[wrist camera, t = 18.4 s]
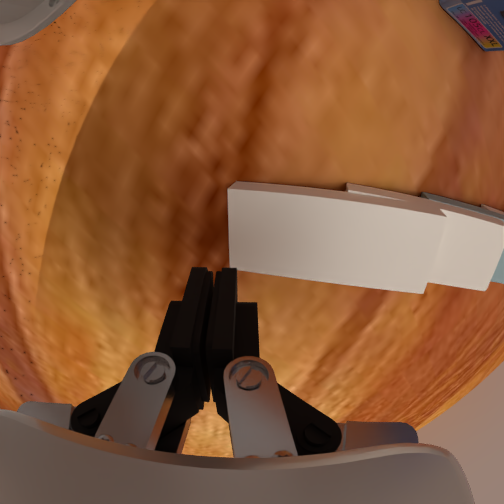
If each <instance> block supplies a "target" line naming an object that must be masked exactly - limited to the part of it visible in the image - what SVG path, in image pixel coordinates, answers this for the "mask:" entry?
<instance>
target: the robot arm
mask: <svg viewBox="0 0 504 504" xmlns="http://www.w3.org/2000/svg"><path fill="white" fill-rule="evenodd" d="M75 1H76V0H0V45H12V44H15V43H18V42H22V41H24V40H25V39H27V38H29V37H31V36H33V35H35V34H36V33H38V32H39V31H41V30H42V29H44V28H45V27H47V26H48V25H49V24H51V23H52V22H53V21H54V20H55V19H57V18H58V17H59V16H60V15H61V14H63V13H64V12H65V11H66V10H67V9H68V8H69V7H70V6H71V5H72V4H73V3H74V2H75ZM211 390H212V396H213V401H214V402H216V407H217V413H218V414H219V415H220V416H221V417H222V418H223V419H224V420H225V421H227V422H228V423H229V430H230V437H231V444H232V450H233V456H234V458H226V457H207V456H195V455H185V454H181V453H182V450H183V447H184V443H185V440H186V437H187V434H188V430H189V427H190V424H191V417H193V416H194V415H195V414H197V413H198V412H199V409H201V410H203V407H204V402H209V400H210V391H211ZM0 504H475V502H474V499H473V495H472V492H471V489H470V486H469V483H468V481H467V478H466V476H465V473H464V471H463V469H462V467H461V465H460V464H459V462H458V461H457V459H456V458H455V457H454V455H453V454H452V453H450V452H449V451H448V450H446V449H444V448H441V447H438V446H434V445H428V444H422V443H418V436H417V433H416V431H415V429H414V428H413V427H412V426H410V425H409V424H407V423H402V422H357V421H347V422H346V423H336V422H335V421H334V420H332V419H331V418H329V417H328V416H326V415H325V414H323V413H322V412H320V411H318V410H317V409H315V408H314V407H312V406H311V405H309V404H308V403H306V402H305V401H303V400H302V399H300V398H299V397H297V396H296V395H294V394H293V393H291V392H290V391H288V390H287V389H285V388H284V387H283V386H281V385H280V384H278V383H277V381H276V377H275V374H274V371H273V369H272V367H271V365H270V364H269V363H267V362H266V361H265V360H263V359H261V358H260V357H259V334H258V311H257V302H238V301H237V268H222V271H217V272H216V278H215V284H213V272H212V271H208V270H207V267H192V269H191V272H190V276H189V279H188V282H187V286H186V289H185V293H184V296H183V300H182V301H171V302H170V304H169V307H168V310H167V313H166V316H165V319H164V322H163V325H162V329H161V332H160V335H159V338H158V342H157V345H156V348H155V352H149V353H145V354H142V355H140V356H139V357H137V358H136V359H135V360H134V361H133V362H132V364H131V365H130V367H129V369H128V371H127V373H126V375H125V377H124V379H123V381H122V382H120V383H118V384H116V385H114V386H112V387H111V388H109V389H107V390H105V391H103V392H101V393H99V394H98V395H96V396H94V397H92V398H90V399H88V400H86V401H84V402H82V403H81V404H79V405H78V406H77V407H74V406H73V405H72V404H60V403H45V402H33V401H30V402H26V403H24V404H22V405H21V406H20V407H19V409H18V411H17V412H14V411H10V410H1V409H0Z"/></svg>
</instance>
